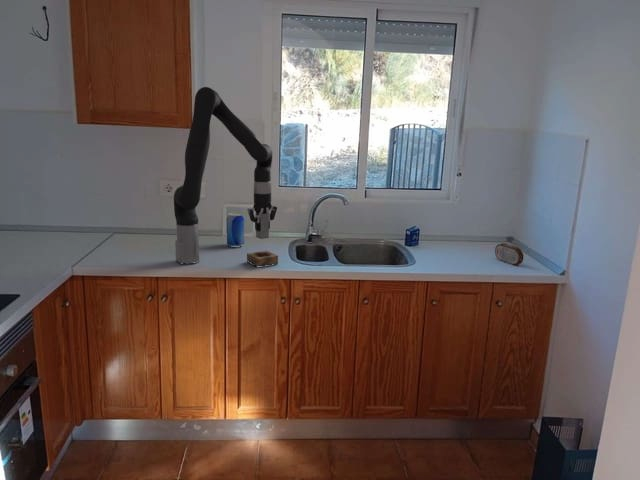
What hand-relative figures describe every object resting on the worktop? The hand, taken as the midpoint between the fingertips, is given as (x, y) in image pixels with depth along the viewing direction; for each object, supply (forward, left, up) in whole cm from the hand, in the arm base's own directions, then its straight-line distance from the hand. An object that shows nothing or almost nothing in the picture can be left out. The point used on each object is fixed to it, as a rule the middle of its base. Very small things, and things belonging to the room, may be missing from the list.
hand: (262, 230), depth 235 cm
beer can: (+3, +32, -15) cm, 35 cm away
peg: (0, 0, -3) cm, 3 cm away
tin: (+100, -55, -15) cm, 115 cm away
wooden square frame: (0, 0, -15) cm, 15 cm away
